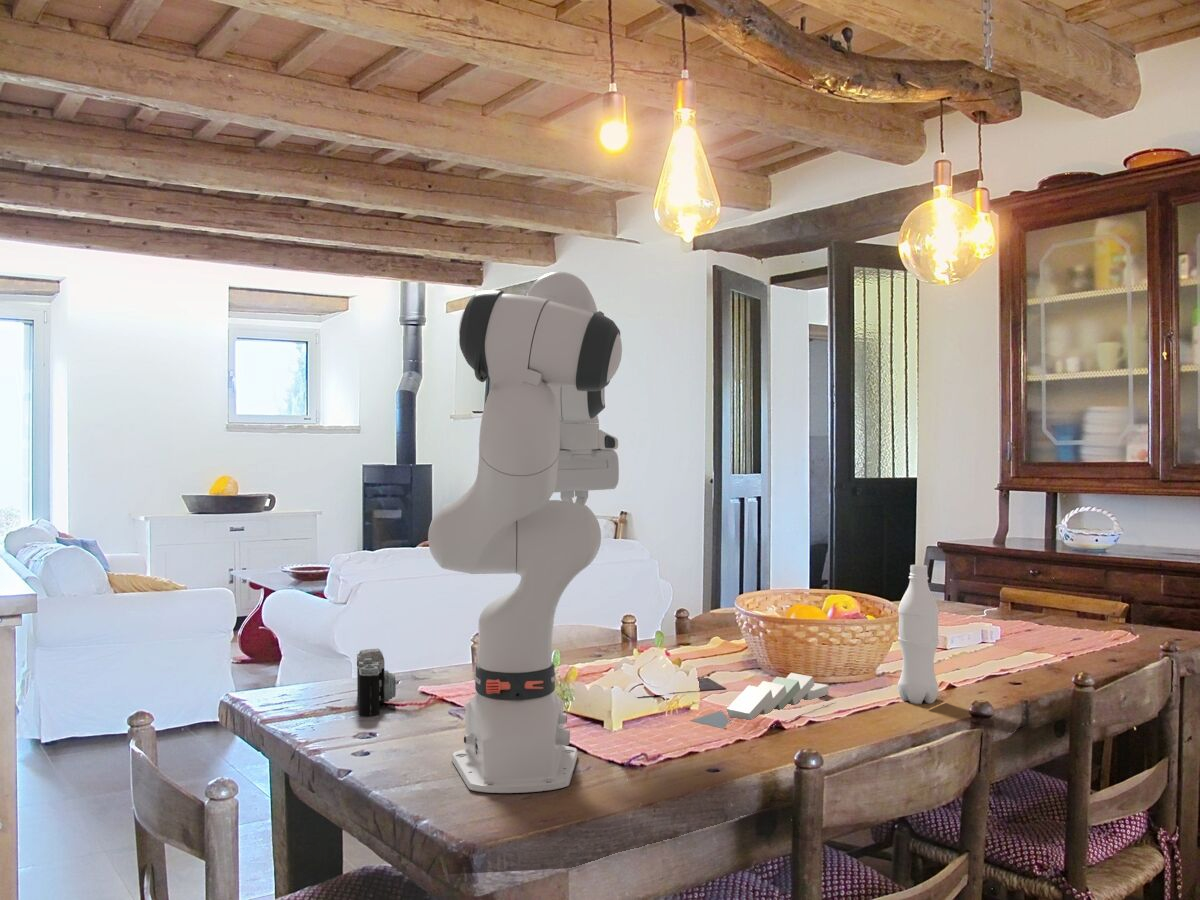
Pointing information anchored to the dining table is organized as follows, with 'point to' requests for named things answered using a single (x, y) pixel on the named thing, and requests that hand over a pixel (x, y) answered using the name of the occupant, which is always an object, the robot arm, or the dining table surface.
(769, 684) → the tile
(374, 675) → the camera
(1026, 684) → the dining table surface
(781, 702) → the tile
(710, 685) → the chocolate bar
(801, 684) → the tile
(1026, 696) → the dining table surface
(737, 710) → the tile
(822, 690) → the tile
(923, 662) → the water bottle
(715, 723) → the felt runner
